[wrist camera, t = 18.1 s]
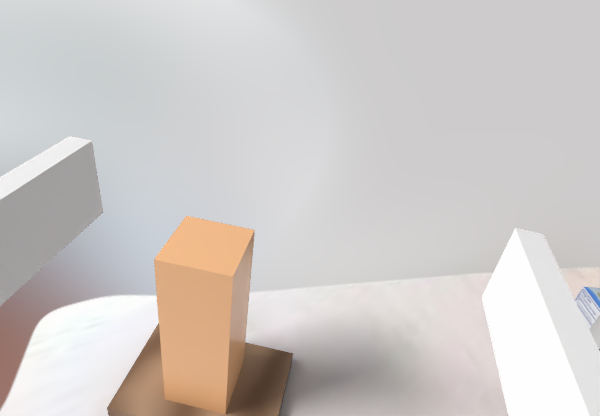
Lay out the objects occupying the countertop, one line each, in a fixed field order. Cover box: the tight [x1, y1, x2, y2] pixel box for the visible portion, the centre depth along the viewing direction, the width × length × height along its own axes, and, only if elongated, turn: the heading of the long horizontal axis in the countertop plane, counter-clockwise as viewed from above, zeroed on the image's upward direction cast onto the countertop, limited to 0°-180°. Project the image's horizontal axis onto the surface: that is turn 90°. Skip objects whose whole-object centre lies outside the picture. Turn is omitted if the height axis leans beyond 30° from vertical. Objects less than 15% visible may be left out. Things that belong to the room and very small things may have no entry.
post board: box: [107, 323, 293, 416], centre depth 43 cm, size 16×11×8 cm
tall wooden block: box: [154, 216, 254, 414], centre depth 40 cm, size 6×6×18 cm
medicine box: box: [575, 287, 600, 329], centre depth 53 cm, size 8×4×9 cm, turn 178°
